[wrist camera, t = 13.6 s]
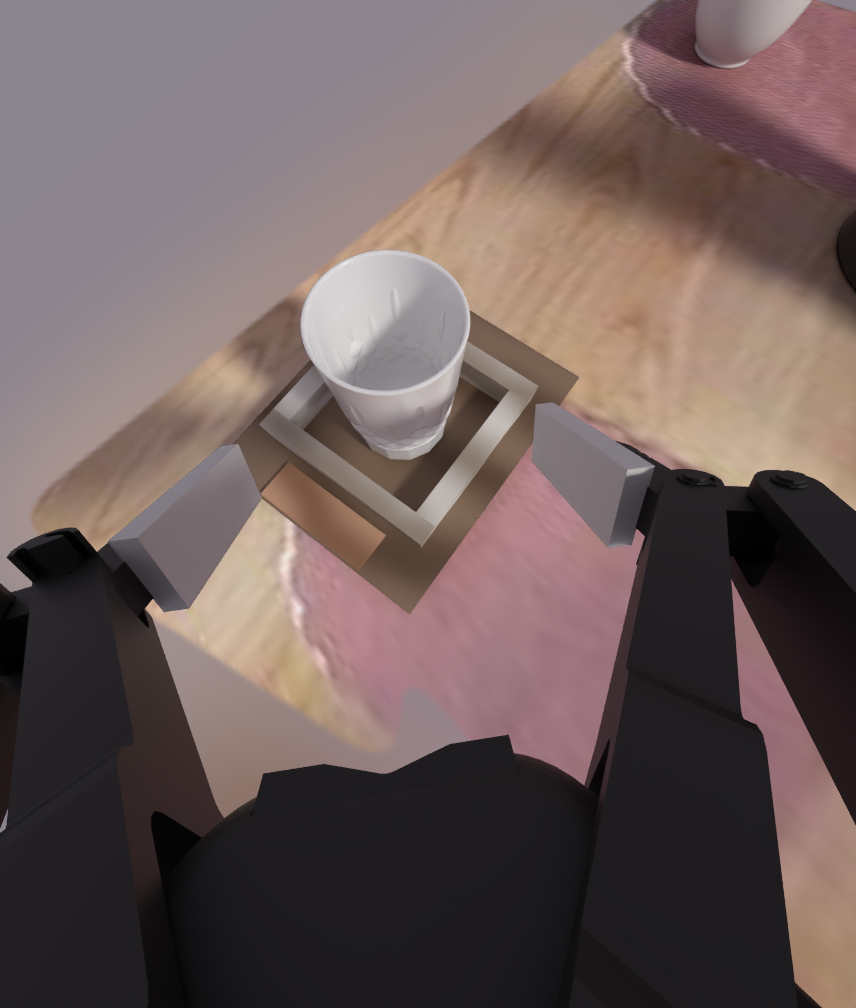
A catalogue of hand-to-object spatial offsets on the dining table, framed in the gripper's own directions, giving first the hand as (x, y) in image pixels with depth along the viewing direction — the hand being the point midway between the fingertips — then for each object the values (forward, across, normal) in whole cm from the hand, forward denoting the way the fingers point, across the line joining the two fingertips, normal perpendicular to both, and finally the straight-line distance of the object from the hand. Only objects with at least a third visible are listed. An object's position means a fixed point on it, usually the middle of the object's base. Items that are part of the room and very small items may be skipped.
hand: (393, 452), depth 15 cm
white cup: (+11, 0, -2) cm, 11 cm away
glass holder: (+12, 0, -3) cm, 12 cm away
